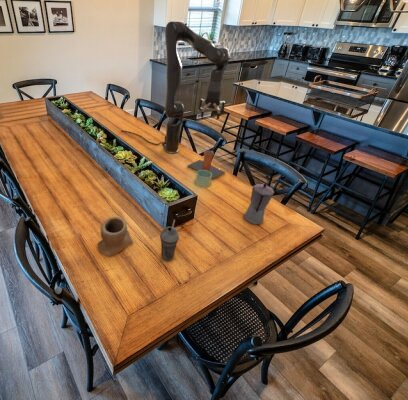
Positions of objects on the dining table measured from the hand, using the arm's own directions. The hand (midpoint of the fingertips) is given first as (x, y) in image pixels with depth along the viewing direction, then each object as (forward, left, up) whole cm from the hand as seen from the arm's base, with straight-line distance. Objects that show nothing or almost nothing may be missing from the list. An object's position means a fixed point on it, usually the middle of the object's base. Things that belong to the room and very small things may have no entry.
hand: (209, 118), depth 156 cm
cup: (+15, -18, -30) cm, 38 cm away
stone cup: (+23, -85, -30) cm, 93 cm away
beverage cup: (+41, -73, -30) cm, 89 cm away
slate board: (+7, -5, -30) cm, 31 cm away
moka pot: (+52, -24, -30) cm, 65 cm away
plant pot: (+7, -5, -29) cm, 30 cm away
